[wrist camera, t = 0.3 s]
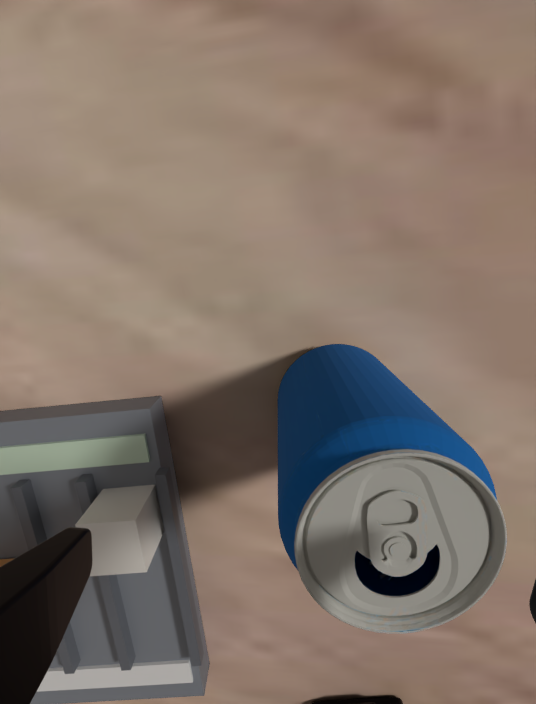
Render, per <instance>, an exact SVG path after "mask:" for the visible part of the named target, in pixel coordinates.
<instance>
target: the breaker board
mask: <svg viewBox="0 0 536 704" xmlns="http://www.w3.org/2000/svg"><path fill="white" fill-rule="evenodd" d="M69 527H79V528H88V529H89V530H90V531H91V535H92V569H91V573H90V576H89V579H88V581H87V583H86V586H85V588H84V590H83V593H82V595H81V597H80V599H79V602H78V604H77V606H76V609H75V611H74V613H73V616H72V618H71V620H70V623H69V625H68V627H67V629H66V632H65V634H64V636H63V639H62V641H61V643H60V646H59V648H58V650H57V652H56V654H55V657H54V659H53V661H52V663H51V665H50V667H49V669H48V671H47V673H46V675H45V677H44V679H43V681H42V682H41V684H40V686H39V688H38V690H37V692H36V693H35V695H34V697H33V699H32V701H31V703H30V704H62V703H79V702H97V701H115V700H133V699H150V698H168V697H186V696H204V693H205V688H206V682H207V676H208V670H209V664H210V663H209V658H208V652H207V647H206V641H205V636H204V630H203V625H202V619H201V614H200V608H199V603H198V597H197V591H196V586H195V580H194V575H193V569H192V564H191V558H190V553H189V547H188V542H187V536H186V531H185V525H184V520H183V514H182V509H181V503H180V497H179V492H178V486H177V481H176V475H175V470H174V464H173V459H172V453H171V448H170V442H169V437H168V431H167V426H166V420H165V415H164V409H163V404H162V398H161V396H154V397H143V398H133V399H122V400H112V401H101V402H91V403H80V404H70V405H59V406H49V407H38V408H28V409H17V410H7V411H0V559H11V558H16V557H18V556H20V555H22V554H23V553H25V552H27V551H28V550H30V549H32V548H34V547H35V546H37V545H39V544H40V543H42V542H44V541H46V540H47V539H49V538H51V537H52V536H54V535H56V534H58V533H59V532H61V531H63V530H64V529H66V528H69Z"/></svg>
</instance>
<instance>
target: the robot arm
mask: <svg viewBox="0 0 536 704" xmlns="http://www.w3.org/2000/svg"><path fill="white" fill-rule="evenodd" d="M91 569H92V535H91V531H90V530H89V529H88V528H79V527H69V528H66V529H64V530H63V531H61V532H59V533H58V534H56V535H54V536H52V537H51V538H49V539H47V540H46V541H44V542H42V543H40V544H39V545H37V546H35V547H34V548H32V549H30V550H28V551H27V552H25V553H23V554H22V555H20V556H18V557H16V558H15V559H13V560H11V561H9V562H8V563H6V564H4V565H3V566H1V567H0V704H30V703H31V701H32V699H33V697H34V695H35V693H36V692H37V690H38V688H39V686H40V684H41V682H42V681H43V679H44V677H45V675H46V673H47V671H48V669H49V667H50V665H51V663H52V661H53V659H54V657H55V654H56V652H57V650H58V648H59V646H60V643H61V641H62V639H63V636H64V634H65V632H66V629H67V627H68V625H69V623H70V620H71V618H72V616H73V613H74V611H75V609H76V606H77V604H78V602H79V599H80V597H81V595H82V593H83V590H84V588H85V586H86V583H87V581H88V579H89V576H90V573H91ZM530 610H531V614H532V616H533V619H534V621H535V623H536V580H535V583H534V587H533V590H532V594H531V597H530ZM312 704H403V703H402V700H401V699H400V698H396V697H394V698H375V699H357V700H339V701H321V702H314V703H312Z"/></svg>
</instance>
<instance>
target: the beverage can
mask: <svg viewBox="0 0 536 704" xmlns="http://www.w3.org/2000/svg"><path fill="white" fill-rule="evenodd" d="M278 520H279V529H280V534H281V538H282V541H283V544H284V546H285V549H286V552H287V554H288V555H289V557H290V559H291V561H292V563H293V564H294V566H295V567H296V568H297V570H298V571H299V574H300V577H301V579H302V581H303V583H304V585H305V587H306V589H307V590H308V592H309V593H310V594H311V596H312V597H313V598H314V600H315V601H316V602H317V603H318V604H319V605H320V606H321V607H322V608H323V609H325V610H326V611H327V612H329V613H330V614H331V615H333V616H334V617H336V618H338V619H339V620H341V621H343V622H345V623H347V624H349V625H352V626H354V627H357V628H361V629H364V630H368V631H373V632H378V633H389V634H398V633H411V632H418V631H422V630H427V629H430V628H433V627H436V626H439V625H442V624H444V623H446V622H448V621H451V620H453V619H454V618H456V617H458V616H459V615H461V614H463V613H464V612H466V611H467V610H468V609H469V608H471V607H472V606H473V605H475V604H476V603H477V602H478V601H479V600H480V599H481V598H482V597H483V596H484V595H485V593H486V592H487V591H488V589H489V588H490V587H491V586H492V584H493V582H494V581H495V579H496V577H497V576H498V573H499V571H500V569H501V566H502V564H503V560H504V557H505V553H506V544H507V532H506V524H505V520H504V516H503V513H502V510H501V508H500V505H499V503H498V502H497V498H496V493H495V489H494V485H493V482H492V479H491V477H490V474H489V472H488V470H487V468H486V466H485V465H484V463H483V461H482V460H481V458H480V457H479V456H478V454H477V453H476V452H475V451H474V449H473V448H472V447H471V446H470V445H468V444H467V443H466V442H465V441H464V440H463V439H462V438H461V437H460V436H459V435H458V434H457V433H456V432H455V431H454V430H452V429H451V428H450V427H449V426H448V425H447V424H446V423H445V422H444V421H443V420H442V419H441V418H440V417H439V416H438V415H436V414H435V413H434V412H433V411H432V410H431V409H430V408H429V407H428V406H427V405H426V404H425V403H424V402H423V401H421V400H420V399H419V398H418V397H417V396H416V395H415V394H414V393H413V392H412V391H411V390H410V389H409V388H408V387H407V386H405V385H404V384H403V383H402V382H401V381H400V380H399V379H398V378H397V377H396V376H395V375H394V374H393V373H392V372H391V371H389V370H388V369H387V368H386V367H385V366H384V365H383V364H382V363H381V362H380V361H379V360H378V359H377V358H376V357H374V356H373V355H371V354H370V353H369V352H367V351H365V350H363V349H360V348H358V347H355V346H350V345H344V344H331V345H325V346H321V347H318V348H315V349H313V350H310V351H308V352H307V353H305V354H303V355H302V356H301V357H299V358H298V359H297V360H296V361H295V362H294V363H293V364H292V365H291V366H290V367H289V369H288V370H287V371H286V373H285V375H284V377H283V379H282V381H281V384H280V387H279V392H278Z"/></svg>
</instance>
